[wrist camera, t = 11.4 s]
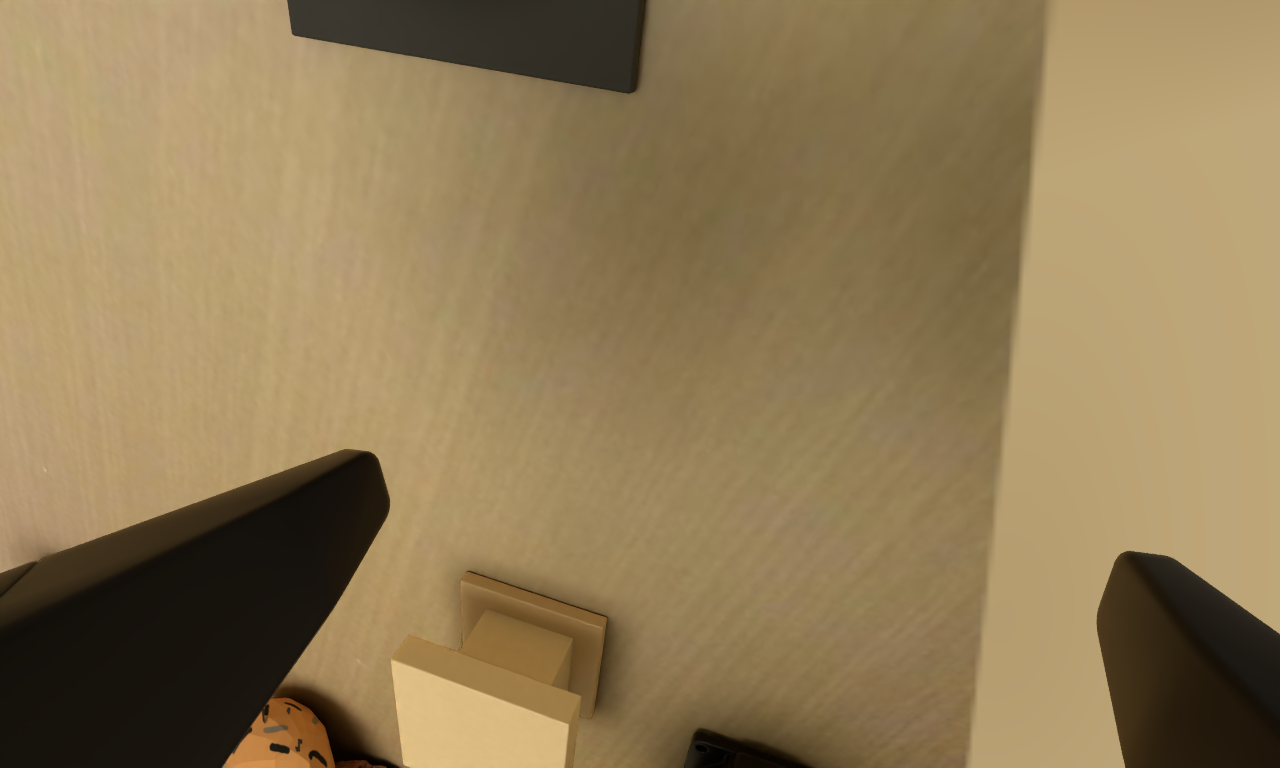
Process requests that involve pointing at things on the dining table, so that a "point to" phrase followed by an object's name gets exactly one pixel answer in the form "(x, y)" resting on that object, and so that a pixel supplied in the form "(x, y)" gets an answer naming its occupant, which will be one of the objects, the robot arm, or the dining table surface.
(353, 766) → the cookie
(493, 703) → the stand
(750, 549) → the dining table surface
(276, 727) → the toy
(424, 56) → the mat
